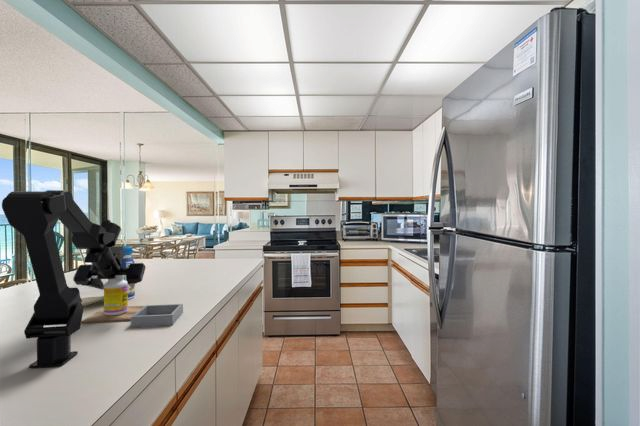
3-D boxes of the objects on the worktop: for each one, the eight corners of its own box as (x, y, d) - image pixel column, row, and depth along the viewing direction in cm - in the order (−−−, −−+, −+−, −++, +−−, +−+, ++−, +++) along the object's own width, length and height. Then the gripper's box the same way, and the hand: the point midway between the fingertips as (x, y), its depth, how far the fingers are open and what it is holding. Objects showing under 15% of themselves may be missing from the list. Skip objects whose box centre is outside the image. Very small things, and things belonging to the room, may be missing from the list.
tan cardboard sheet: (131, 320, 100) (131, 318, 100) (81, 323, 98) (81, 321, 98) (147, 307, 114) (147, 305, 114) (104, 309, 112) (104, 307, 112)
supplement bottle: (124, 315, 104) (124, 275, 104) (100, 317, 102) (100, 276, 101) (130, 309, 110) (129, 271, 110) (107, 310, 108) (107, 272, 108)
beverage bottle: (107, 298, 126) (107, 246, 126) (132, 294, 132) (132, 245, 131) (112, 302, 120) (111, 248, 120) (137, 298, 125) (137, 247, 125)
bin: (172, 324, 97) (172, 314, 97) (130, 327, 95) (130, 316, 95) (182, 312, 108) (182, 303, 108) (145, 314, 106) (145, 305, 106)
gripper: (143, 238, 104) (154, 266, 115) (78, 239, 100) (95, 268, 111) (134, 266, 96) (147, 294, 107) (63, 269, 92) (83, 297, 103)
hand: (118, 287), depth 107 cm, fingers open, 9 cm apart
